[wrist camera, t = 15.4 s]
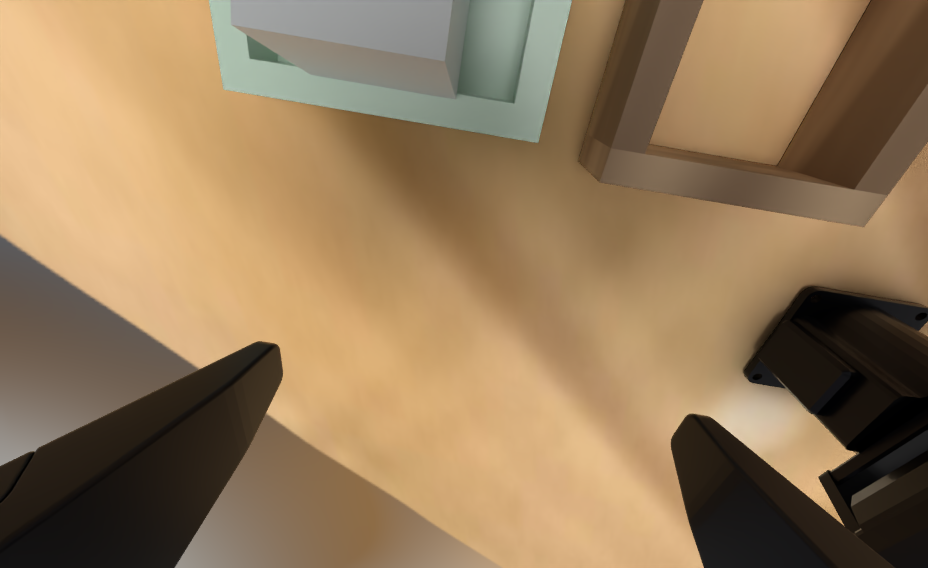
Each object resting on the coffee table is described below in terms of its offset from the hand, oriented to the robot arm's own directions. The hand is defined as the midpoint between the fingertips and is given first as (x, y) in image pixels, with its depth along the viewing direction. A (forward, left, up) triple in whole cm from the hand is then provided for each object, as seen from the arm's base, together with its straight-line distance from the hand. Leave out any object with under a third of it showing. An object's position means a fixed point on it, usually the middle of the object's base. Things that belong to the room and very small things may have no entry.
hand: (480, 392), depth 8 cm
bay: (-8, -7, -12) cm, 16 cm away
